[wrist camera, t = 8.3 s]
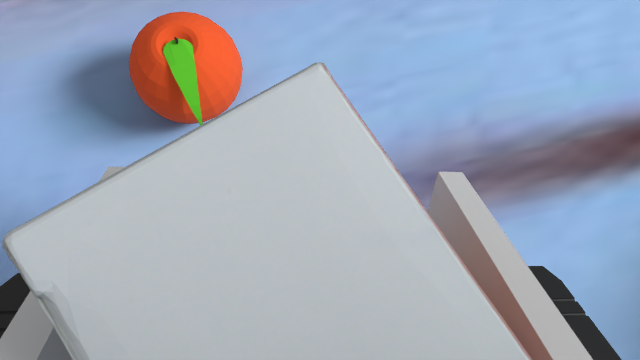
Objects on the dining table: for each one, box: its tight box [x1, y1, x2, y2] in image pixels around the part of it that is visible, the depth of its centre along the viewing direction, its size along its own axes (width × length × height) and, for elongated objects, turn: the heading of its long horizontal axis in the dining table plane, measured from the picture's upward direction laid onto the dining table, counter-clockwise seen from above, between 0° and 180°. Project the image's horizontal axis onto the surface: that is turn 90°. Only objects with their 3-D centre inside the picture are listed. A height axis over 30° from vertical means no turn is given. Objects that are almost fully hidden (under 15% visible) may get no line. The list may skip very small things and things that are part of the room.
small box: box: [2, 62, 532, 360], centre depth 11 cm, size 8×6×10 cm
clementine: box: [129, 12, 242, 125], centre depth 27 cm, size 8×7×7 cm
